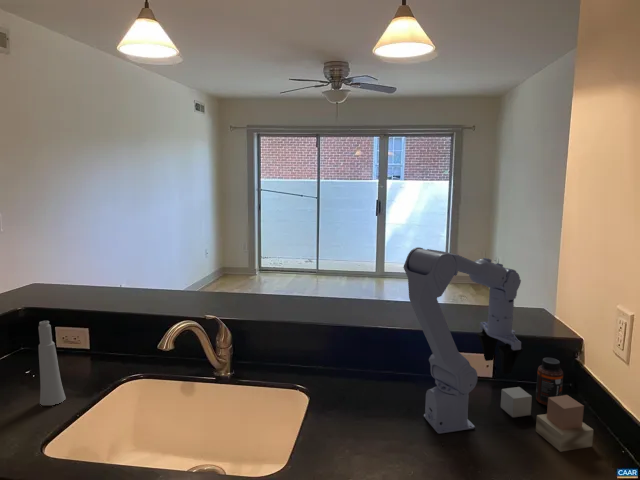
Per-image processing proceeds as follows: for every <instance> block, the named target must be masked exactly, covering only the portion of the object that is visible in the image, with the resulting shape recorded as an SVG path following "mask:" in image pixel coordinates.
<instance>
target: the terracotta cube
mask: <svg viewBox="0 0 640 480" xmlns="http://www.w3.org/2000/svg"><path fill="white" fill-rule="evenodd" d="M546 407H547V408H546V409H547V410H546V414H547V419H549V420H550V421H551V422H552V423H554V424H555V425H556V426H558V427H559V428H560V429H562V430H566V429H573V428H579V427H582V422H583V419H584V409H585V405H583V404H582V403H580V402H578V401H577V400H576V399H574V398H572V397H571V396H569V395H568V394H562V396H556V397H548V406H547V405H546ZM583 423H584V422H583Z"/></svg>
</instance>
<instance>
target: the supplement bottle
mask: <svg viewBox="0 0 640 480" xmlns="http://www.w3.org/2000/svg"><path fill="white" fill-rule="evenodd" d="M541 363H542V364H541V365H539V366H538V368H537V374H536V375H537V377H536V389H535V399H536V401H537V402H538V403H539V404H542V405H544V406H546V407H547V406H548V397H556V396H563V385H564V384H563V383H564V382H563V381H564V371H563V369H562V368H561V362H560V360H558V359H556V358H553V357H544V358H542V362H541Z"/></svg>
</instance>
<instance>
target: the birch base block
mask: <svg viewBox="0 0 640 480" xmlns="http://www.w3.org/2000/svg"><path fill="white" fill-rule="evenodd" d="M535 422H536V424H535V432H536V433H537V434H538V435H540V436H541V437H542V438H543V439H545V440H546V441H547V442H548V443H549V444H550V445H551V446H553V447H554V448H555V449H556V450H558V451H559V452H561V453H562V452H567V451H572V450H573V451H574V450H580V449H585V448H586V449H587V448H591V447H593V441H594V440H593V439H594V429H593V428H592V427H590V426H589V425H587V424H586V423H585V422H582V427H579V428H573V429H566V430H562V429H560V428H559V427H558V426H556V425H555V424H554V423H552V422H551V421H550V420H549V419H547V413H545V414H544V413H543V414H537V415H536V420H535Z"/></svg>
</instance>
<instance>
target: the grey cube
mask: <svg viewBox="0 0 640 480" xmlns="http://www.w3.org/2000/svg"><path fill="white" fill-rule="evenodd" d="M500 392H501V395H500V408H501V409H502V410H503V411H504V412H505V413H507V414H508V415H509V416H510V417H511V418H518V417H519V418H520V417H525V416H527V417H528V416H531V415H532V414H531V413H532V402H533V401H532V400H533V396H532V395H531V394H530V393H528V392H527V391H525V390H524V389H523V388H522V387H520V386H517V387H507V388H502V389H501V391H500Z"/></svg>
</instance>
